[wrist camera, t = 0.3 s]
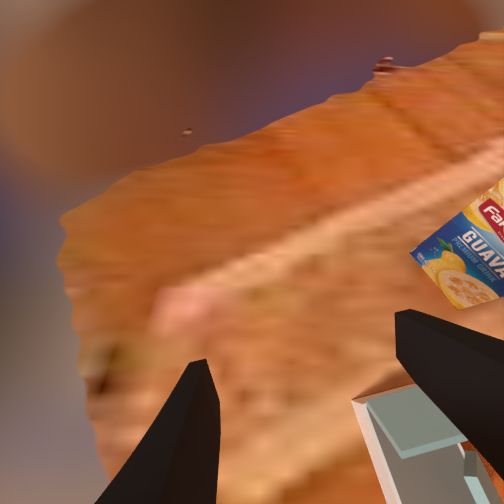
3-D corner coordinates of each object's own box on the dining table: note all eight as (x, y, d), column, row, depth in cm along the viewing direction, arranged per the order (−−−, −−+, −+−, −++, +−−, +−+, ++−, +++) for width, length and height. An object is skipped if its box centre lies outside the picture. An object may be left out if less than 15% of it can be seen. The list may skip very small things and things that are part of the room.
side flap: (484, 435, 23) (485, 427, 23) (401, 459, 23) (401, 451, 22) (433, 388, 29) (433, 381, 28) (366, 406, 28) (366, 399, 28)
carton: (466, 499, 28) (497, 519, 24) (393, 521, 27) (412, 544, 24) (413, 383, 33) (432, 385, 29) (350, 400, 32) (361, 404, 29)
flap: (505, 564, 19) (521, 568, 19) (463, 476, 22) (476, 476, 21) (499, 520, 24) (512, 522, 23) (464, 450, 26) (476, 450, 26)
